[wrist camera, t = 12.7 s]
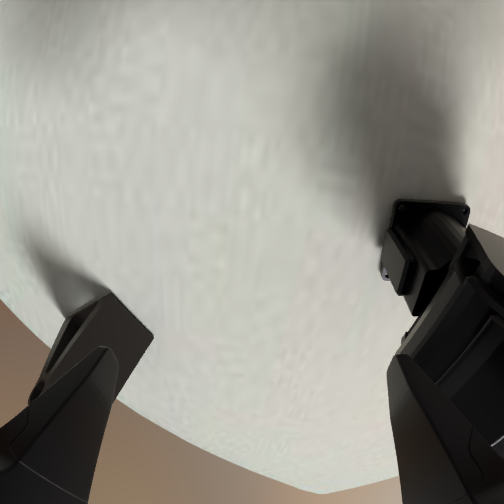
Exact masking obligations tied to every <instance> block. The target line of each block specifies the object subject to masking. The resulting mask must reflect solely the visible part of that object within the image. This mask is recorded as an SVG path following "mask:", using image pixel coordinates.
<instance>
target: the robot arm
mask: <svg viewBox="0 0 504 504" xmlns="http://www.w3.org/2000/svg"><path fill="white" fill-rule="evenodd" d="M402 204H403V207H402V208H401V209H399V206H400V205H402ZM464 209H465V211H464V212H462V211H463V210H464ZM469 214H470V207H469V206H468V205H467V204H465V203H456V202H444V201H430V200H414V199H398V200H396V201H395V202H394V205H393V211H392V217H391V223H390V227H389V228H388V229H387V230H386V235H385V240H384V246H383V251H382V256H381V261H382V263H383V264H382V268H381V276H382V279H383V280H385V281H391V283H392V285H393V287H394V289H395V291H396V293H397V294H398V296H404V298H405V301H406V303H407V305H408V307H409V310H410V312H411V314H412V316H418V318H417V319H416V321H415V322H414V324H413V325H412V327H411V328H410V330H409V331H408V332H406V333H405V334H404V336H403V337H402V340H401V346H400V348H399V349H398V350H397V352H396V354H395V355H394V356H393V358H392V361H391V363H390V365H389V367H388V370H387V385H388V397H389V410H390V420H391V426H392V431H393V437H394V443H395V449H396V456H397V462H398V469H399V476H400V484H401V493H402V502H403V504H504V238H503V237H501V236H498V235H496V234H494V233H491V232H489V231H487V230H484V229H482V228H479V227H477V226H474V225H472V224H468V227H467V228H466V226H467V222H468V218H469ZM386 273H387V274H388V275H385V274H386ZM118 369H119V364H118V361H117V359H116V357H115V355H114V354H113V352H112V350H111V348H109V347H105V346H98V347H96V348H95V349H94V350H93V351H92V352H90V353H89V354H88V355H87V356H86V357H84V358H83V359H82V360H81V361H80V362H79V363H77V364H76V365H75V366H74V367H73V368H71V369H70V370H69V371H68V372H67V373H66V374H64V375H63V376H62V377H61V378H60V379H58V380H57V381H56V382H55V383H54V384H53V385H51V386H50V387H49V388H48V389H47V390H46V391H44V392H43V393H42V394H41V395H40V396H39V397H38V398H36V399H35V400H34V401H33V402H32V403H31V404H29V406H27V407H26V408H25V409H24V410H22V411H21V412H20V413H19V414H18V415H17V416H15V417H14V418H13V419H12V420H10V421H9V422H8V423H6V424H5V425H4V426H2V427H1V428H0V504H88V503H87V502H88V499H89V494H90V489H91V485H92V480H93V476H94V471H95V467H96V463H97V458H98V455H99V451H100V447H101V443H102V439H103V435H104V432H105V428H106V424H107V421H108V417H109V414H110V410H111V406H112V401H113V396H114V390H115V385H116V380H117V374H118Z"/></svg>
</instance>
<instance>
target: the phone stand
mask: <svg viewBox="0 0 504 504" xmlns="http://www.w3.org/2000/svg"><path fill="white" fill-rule="evenodd" d="M153 339H154V336H152V335H151V334H150V333H149V332H148V331H147V330H146V329H145V328H144V327H143V326H142V325H141V324H140V323H139V322H138V321H137V320H136V319H135V318H134V317H133V316H132V314H131V313H130V312H129V311H128V310H127V309H126V308H125V307H124V306H123V305H122V304H121V303H120V302H119V301H118V300H117V299H116V298H115V297H114V295H113V294H112V293H110V294H108V295H106V296H105V297H103V298H101V299H99V300H98V301H96V302H94V303H92V304H91V305H89V306H87V307H85V308H84V309H82V310H80V311H78V312H77V313H75V314H73V315H72V316H70V317H68V318H67V319H66V320H65V321H64V323H63V325H62V327H61V329H60V331H59V333H58V335H57V338H56V340H55V342H54V344H53V346H52V349H51V351H50V353H49V356H48V358H47V360H46V363H45V365H44V367H43V370H42V373H41V375H40V377H39V379H38V381H37V383H36V385H35V387H34V388H33V390H32V392H31V394H30V396H29V399H28V405H29V404H31V403H32V402H33V401H34V400H35V399H36V398H38V397H39V396H40V395H41V394H42V393H43V392H44V391H46V390H47V389H48V388H49V387H50V386H51V385H53V384H54V383H55V382H56V381H57V380H58V379H60V378H61V377H62V376H63V375H64V374H66V373H67V372H68V371H69V370H70V369H71V368H73V367H74V366H75V365H76V364H77V363H79V362H80V361H81V360H82V359H83V358H84V357H86V356H87V355H88V354H89V353H90V352H92V351H93V350H94V349H95V348H96V347H98V346H105V347H109V348H111V350H112V352H113V354H114V355H115V357H116V359H117V361H118V364H119V369H118V374H117V380H116V385H115V390H114V396H113V401H112V404H113V402H114V400H115V399H116V397H117V395H118V394H119V392H120V391H121V389H122V387H123V386H124V384H125V383H126V381H127V379H128V378H129V376H130V375H131V373H132V371H133V370H134V368H135V367H136V365H137V364H138V362H139V360H140V359H141V357H142V356H143V354H144V353H145V351H146V350H147V348H148V346H149V345H150V343H151V342H152V340H153Z"/></svg>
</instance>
